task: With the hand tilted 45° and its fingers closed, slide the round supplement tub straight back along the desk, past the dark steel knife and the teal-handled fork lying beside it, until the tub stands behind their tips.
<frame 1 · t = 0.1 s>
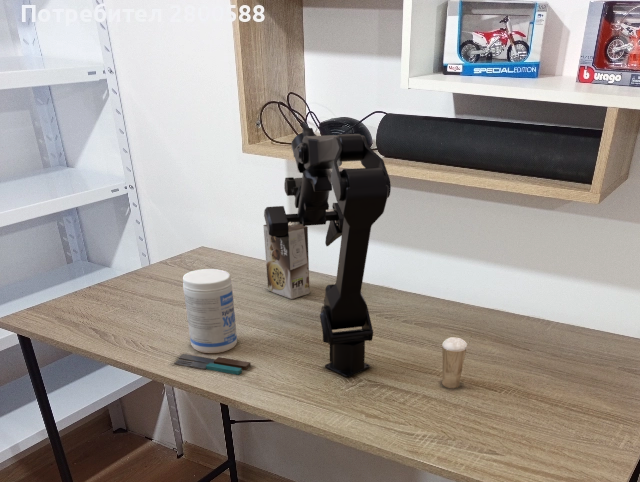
hand: (306, 246, 150), 15 cm above the table, tool tilted 35°, fingers open, 9 cm apart
supplement tub: (214, 346, 142), on the table
knife: (214, 362, 135), on the table
milkshake: (452, 385, 129), on the table
coffee box: (288, 292, 169), on the table
fork: (208, 367, 133), on the table
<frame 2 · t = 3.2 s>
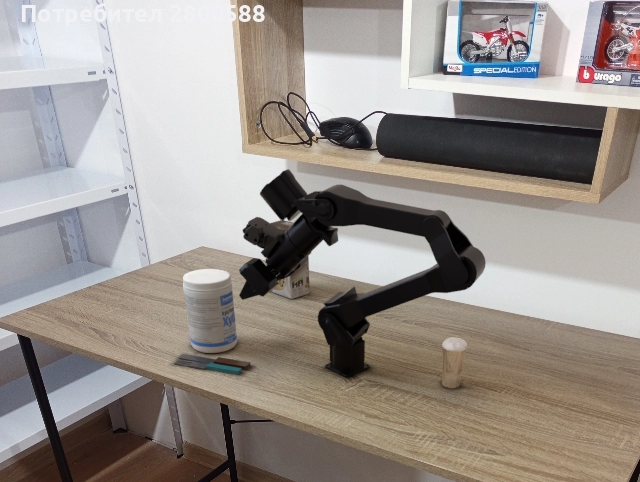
hand: (249, 291, 133), 13 cm above the table, tool tilted 45°, fingers open, 6 cm apart
nothing on the table moved.
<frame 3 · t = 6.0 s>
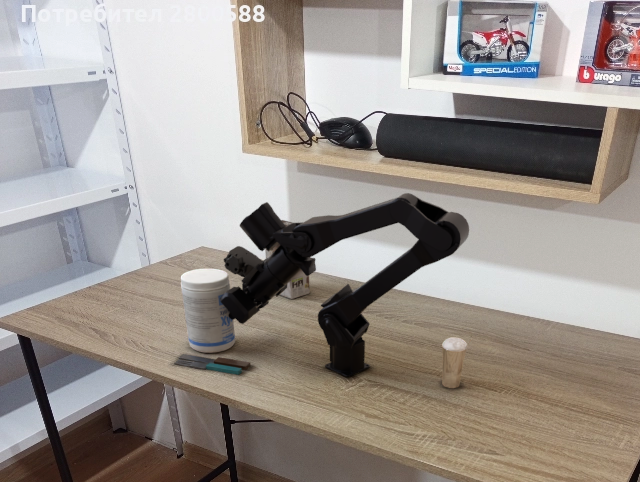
hand: (230, 317, 137), 7 cm above the table, tool tilted 45°, fingers closed
supplement tub: (212, 345, 142), on the table, touching gripper
everything else where it was.
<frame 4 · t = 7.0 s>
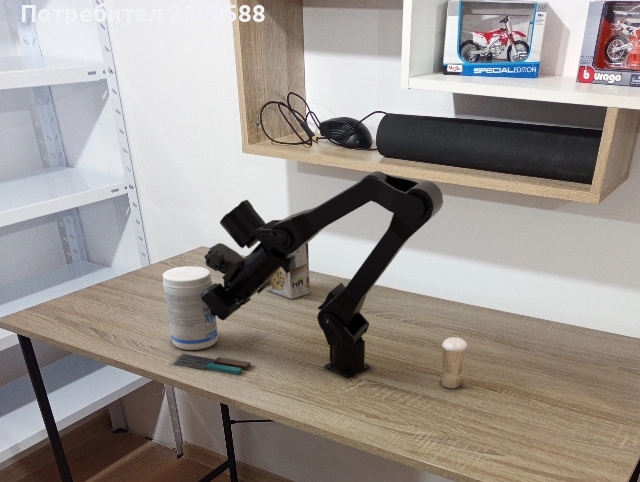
hand: (212, 313, 138), 7 cm above the table, tool tilted 45°, fingers closed, pressing on supplement tub
supplement tub: (195, 342, 143), on the table, touching gripper
everything else where it was.
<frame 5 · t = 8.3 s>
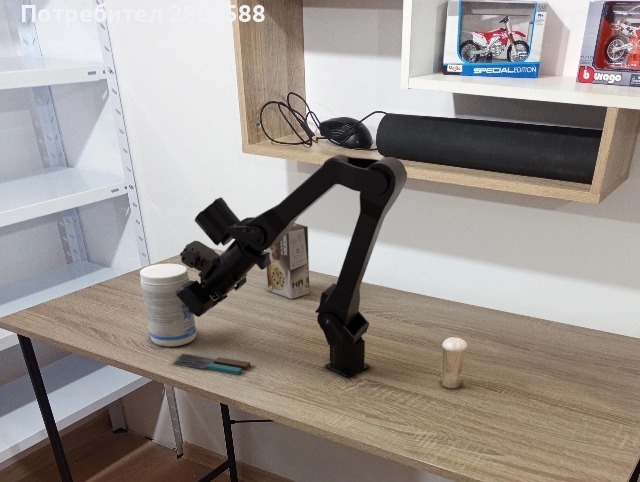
hand: (190, 310, 140), 7 cm above the table, tool tilted 45°, fingers closed, pressing on supplement tub
supplement tub: (174, 339, 145), on the table, touching gripper
everything else where it was.
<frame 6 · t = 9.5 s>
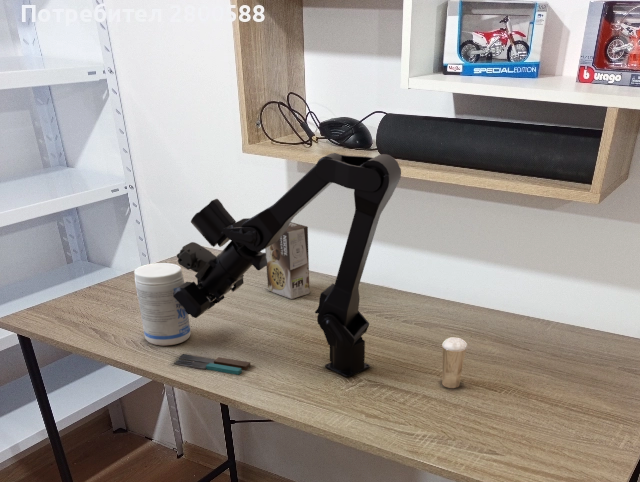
hand: (187, 312, 140), 6 cm above the table, tool tilted 45°, fingers closed
supplement tub: (168, 338, 145), on the table
everything else where it was.
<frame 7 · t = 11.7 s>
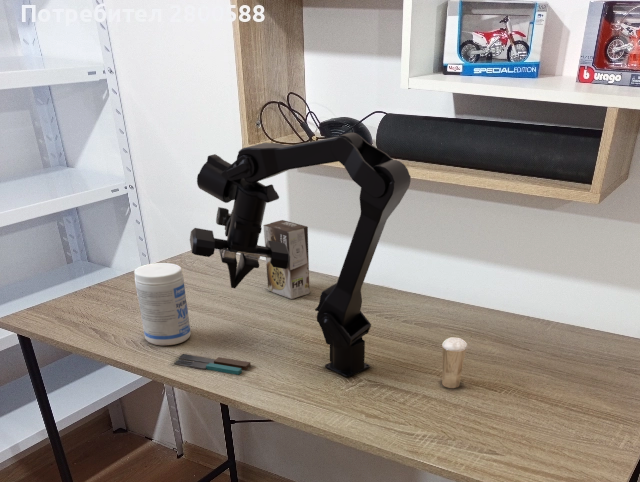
hand: (232, 287, 137), 12 cm above the table, tool tilted 20°, fingers closed
nothing on the table moved.
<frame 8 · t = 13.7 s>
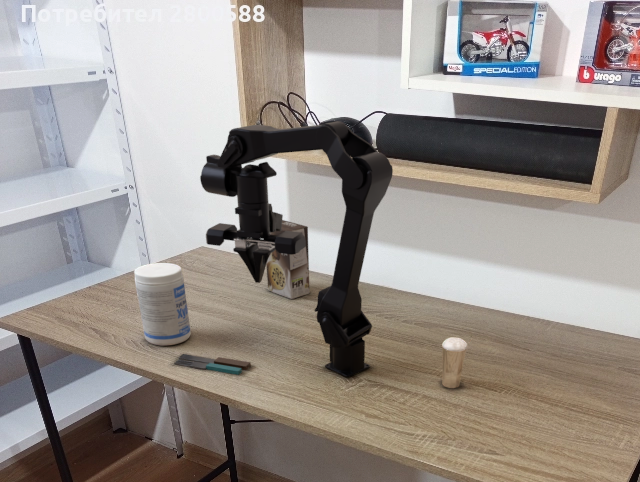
hand: (258, 282, 136), 13 cm above the table, tool pointing down, fingers closed
nothing on the table moved.
at the end: supplement tub inside the target area (1.6 cm from its centre), on the table; supplement tub tilted 0° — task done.
